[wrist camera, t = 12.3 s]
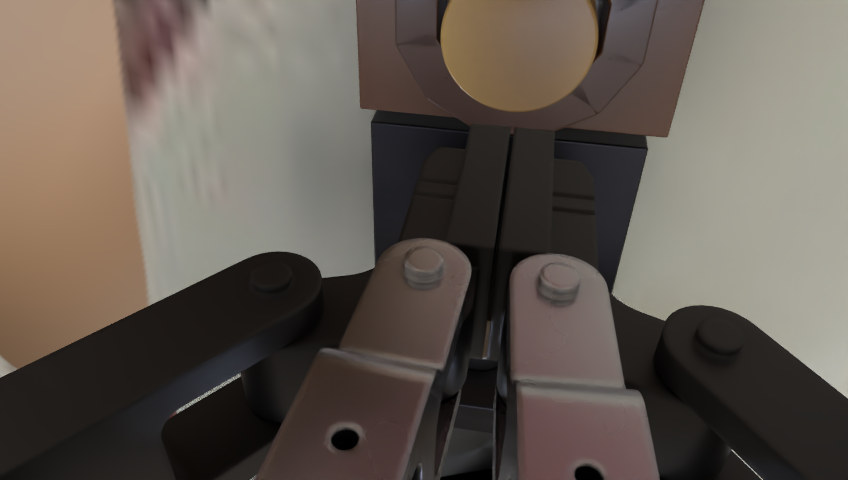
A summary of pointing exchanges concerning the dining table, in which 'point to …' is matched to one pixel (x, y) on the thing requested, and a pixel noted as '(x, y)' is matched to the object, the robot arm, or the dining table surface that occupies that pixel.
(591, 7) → the button
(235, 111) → the dining table surface
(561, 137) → the lever bracket
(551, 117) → the switch plate
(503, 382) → the robot arm
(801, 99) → the dining table surface
